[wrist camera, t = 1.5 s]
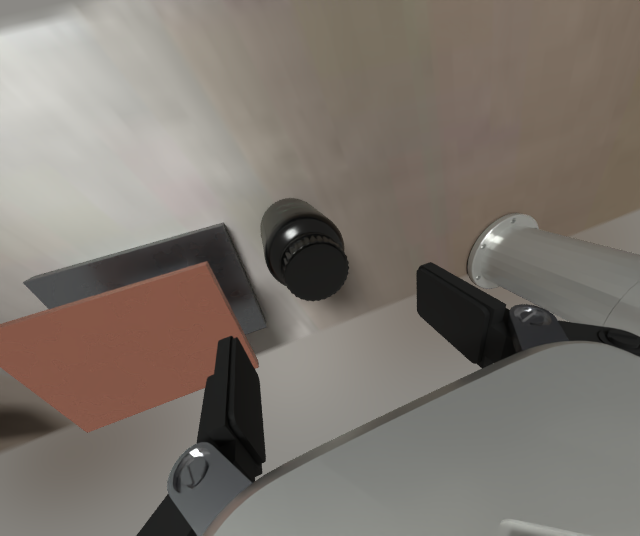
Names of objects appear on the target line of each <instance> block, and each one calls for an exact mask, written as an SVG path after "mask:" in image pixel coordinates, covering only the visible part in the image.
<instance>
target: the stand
mask: <svg viewBox="0 0 640 536" xmlns="http://www.w3.org/2000/svg"><path fill="white" fill-rule="evenodd" d="M23 283H24V284H25V285H26V286H27V287H28V288H29V289H30V290H31V291H32V292H33V293H34V294H35V295H36V296H37V297H38V298H39V299H40V300H41V301H42V302H43V303H44V305H45V306H46V307H47V308H48V310H45V311H42V312H38V313H35V314H32V315H29V316H25V317H22V318H19V319H16V320H12V321H9V322H6V323H2V324H0V367H1V368H2V369H4V370H5V371H6V372H8V373H9V374H10V375H11V376H13V377H14V378H15V379H17V380H18V381H19V382H21V383H22V384H23V385H25V386H26V387H27V388H29V389H30V390H31V391H33V392H34V393H35V394H37V395H38V396H39V397H41V398H42V399H43V400H45V401H46V402H47V403H49V404H50V405H51V406H52V407H54V408H55V409H56V410H58V411H59V412H60V413H62V414H63V415H64V416H66V417H67V418H68V419H70V420H71V421H72V422H74V423H75V424H76V425H78V426H79V427H80V428H82V429H83V430H84V431H86V432H87V433H88V432H90V431H93V430H95V429H98V428H101V427H103V426H106V425H109V424H111V423H114V422H117V421H119V420H122V419H124V418H127V417H130V416H132V415H135V414H138V413H140V412H143V411H145V410H148V409H151V408H153V407H156V406H159V405H161V404H164V403H166V402H169V401H172V400H174V399H177V398H179V397H182V396H185V395H187V394H190V393H193V392H195V391H198V390H200V389H203V388H205V386H206V381H207V378H208V376H211V375H213V374H214V370H215V362H216V354H217V346H218V341H219V340H221V339H224V338H226V337H229V336H233V338H236V337H238V339H239V341H240V342H241V344H242V346H243V348H244V350H245V352H246V354H247V355H248V357H249V359H250V361H251V363H252V365H253V367H254V369H255V368H258V367H259V366H258V360H257V358H256V356H255V354H254V352H253V350H252V348H251V346H250V344H249V342H248V340H247V338H246V336H245V335H246V334H249V333H251V332H254V331H257V330H260V329H262V328H265V327H266V320H265V318H264V316H263V313H262V311H261V309H260V306H259V304H258V302H257V300H256V297H255V295H254V293H253V290H252V288H251V286H250V283H249V281H248V279H247V276H246V274H245V272H244V269H243V267H242V265H241V262H240V260H239V258H238V255H237V253H236V251H235V249H234V246H233V244H232V242H231V239H230V237H229V235H228V232H227V230H226V228H225V225H224V223H220V224H217V225H213V226H210V227H206V228H203V229H199V230H196V231H192V232H188V233H185V234H181V235H178V236H174V237H171V238H167V239H164V240H160V241H157V242H153V243H150V244H146V245H143V246H139V247H136V248H132V249H129V250H125V251H122V252H118V253H115V254H111V255H108V256H104V257H101V258H97V259H94V260H90V261H86V262H83V263H79V264H76V265H72V266H69V267H65V268H62V269H58V270H55V271H51V272H48V273H44V274H41V275H37V276H34V277H32V278H30V279H28V280H26V281H25V282H23Z"/></svg>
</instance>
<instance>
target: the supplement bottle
mask: <svg viewBox="0 0 640 536" xmlns="http://www.w3.org/2000/svg"><path fill="white" fill-rule="evenodd" d="M261 238H262V244H263V249H264V255H265V260H266V264H267V267H268V269H269V271H270V273H271V274H272V275H273V277H274V278H275V279H276V280H277V281H278V282H280V283H281V284H283V285H285V286H287V288H288V289H289V290H290V291H291V293H292V294H295V296H296V297H299V298H300V299H305V300H306V301H309V300H311V301H315V300H317V301H319V300H321V299H326V298H327V297H330V296H331V295H332V294H335V293H336V292H337V290H339V289H340V288H341V286H342V285H343V284H344V281H345V280H346V279H347V275H348V269H349V266H348V260H347V256H346V255H345V253H344V242H343V238H342V235H341V233H340V231H339V229H338V228H337V227H336V226H335V224H334V223H333V222H332V221H330V220H329V219H328V218H327V217H325V216H324V215H323V214H321V213H320V212H319V211H318V210H316V209H315V208H314V207H312V206H311V205H310V204H308V203H307V202H305V201H302V200H299V199H295V198H287V199H282V200H279V201H277V202H275V203H274V204H272V205H271V206H270V207H269V208H268V209H267V211H266V212H265V214H264V216H263V218H262V221H261Z"/></svg>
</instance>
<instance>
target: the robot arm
mask: <svg viewBox="0 0 640 536" xmlns="http://www.w3.org/2000/svg"><path fill="white" fill-rule="evenodd" d="M467 267H468V275H469V278H470V279H471V281H472V282H473V283H474V284H476V285H478V286H480V287H482V288H485V289H492V288H496V287H499V286H501V287H503V288H505V289H507V290H509V291H510V292H512V293H514V294H516V295H518V296H520V297H522V298H524V299H526V300H528V301H530V302H532V303H534V304H536V305H538V306H540V307H538V306H534V305H527V304H526V305H525V304H524V305H523V304H521V305H516V306H514V307H512V308H511V309H510V310H509V309H507V308H506V304H505V303H503V302H501V301H499V300H498V299H496V298H494V297H492V296H490V295H488V294H487V293H485V292H483V291H481V290H480V289H478V288H476V287H474V286H473V285H471V284H469V283H467V282H466V281H464V280H462V279H460V278H458V277H457V276H455V275H453V274H451V273H450V272H448V271H446V270H444V269H442V268H441V267H439V266H437V265H435V264H434V263H431V262H430V263H427V264H424V265H421V266H420V267H419V269H418V270H417V312H418V314H419V315H420V316H421V317H422V318H423V319H424V320H425V321H426V322H427V323H429V325H431V326H432V327H433V328H434V329H435V330H436V331H437V332H438V333H440V334H441V335H442V336H443V337H444V338H445V339H446V340H447V341H448V342H450V343H451V344H452V345H453V346H454V347H455V348H456V349H457V350H458V351H460V352H461V353H462V354H463V355H464V356H465V357H466V358H467V359H468V360H470V361H471V362H472V363H475V364H478V365H479V366H480V367H481V368H482V369H480V370H478V371H476V372H474V373H472V374H470V375H467V376H465V377H463V378H461V379H459V380H457V381H455V382H453V383H450V384H448V385H446V386H444V387H442V388H440V389H438V390H436V391H433V392H431V393H429V394H427V395H425V396H423V397H421V398H418V399H416V400H414V401H412V402H410V403H408V404H406V405H404V406H402V407H400V408H397V409H395V410H393V411H391V412H389V413H387V414H385V415H383V416H381V417H378V418H376V419H374V420H372V421H370V422H368V423H366V424H364V425H362V426H360V427H358V428H356V429H354V430H351V431H349V432H347V433H345V434H343V435H341V436H339V437H337V438H335V439H333V440H331V441H329V442H327V443H324V444H323V445H321V446H319V447H316V448H314V449H312V450H310V451H308V452H306V453H305V454H303V455H301V456H299V457H297V458H295V459H293V460H291V461H289V462H287V463H285V464H283V465H282V466H280V467H278V468H276V469H274V470H272V471H271V472H269V473H267V474H265V475H264V476H263V477H261V478H259V479H258V480H257V481H255V477H256V476H258V475H261V474H262V463H264V462H265V461H266V455H265V443H264V432H263V431H264V430H263V418H262V405H261V394H260V381H259V377H258V374H257V372H256V371H255V369H254V367H253V365H252V363H251V361H250V359H249V357H248V355H247V354H246V352H245V350H244V348H243V346H242V344H241V342H240V341H239V339H238V337H236V338H233V336H229V337H226V338H224V339H221V340H219V341H218V346H217V354H216V362H215V370H214V374H213V375H211V376H208V378H207V381H206V386H205V392H204V399H203V405H202V412H201V418H200V424H199V431H198V437H197V444H195V445H193V446H191V447H190V448H188V449H187V450H186V451H185V452H184V453H183V454H182V455H181V456H180V457H179V459H178V460H177V461H176V463H175V464H174V466H173V468H172V470H171V472H170V475H169V478H168V482H167V491H168V495H167V496H166V497H165V499H164V500H163V501H162V503H161V504H160V505H159V507H158V508H157V510H156V511H155V512H154V513H153V514H152V516H151V517H150V519H149V520H148V521H147V522H146V524H145V525H144V526H143V528H142V529H141V530H140V532H139V533H138V534H137V536H640V255H639V254H634V253H631V252H627V251H623V250H619V249H615V248H611V247H607V246H603V245H599V244H595V243H591V242H587V241H583V240H579V239H575V238H571V237H567V236H563V235H559V234H555V233H551V232H547V231H543V230H539V228H538V225H537V222H536V221H535V220H534V218H532V217H531V216H529V215H525V214H520V213H513V214H508V215H506V216H503V217H501V218H499V219H498V220H496V221H495V222H493V223H492V224H491V225H490V226H489V227H488V228H486V229H485V230H484V231H483V233H482V234H481V235H480V236H479V238H478V239H477V241H476V242H475V244H474V246H473V248H472V250H471V252H470V256H469V259H468V266H467ZM541 307H542V308H541ZM543 308H544V309H543ZM550 312H551V313H550ZM552 313H553V314H555V315H557V316H559V317H561V318H563V319H565V320H567V321H569V322H565V321H558V320H557V318H556V317H555V316H554V315H553V314H552Z"/></svg>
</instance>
